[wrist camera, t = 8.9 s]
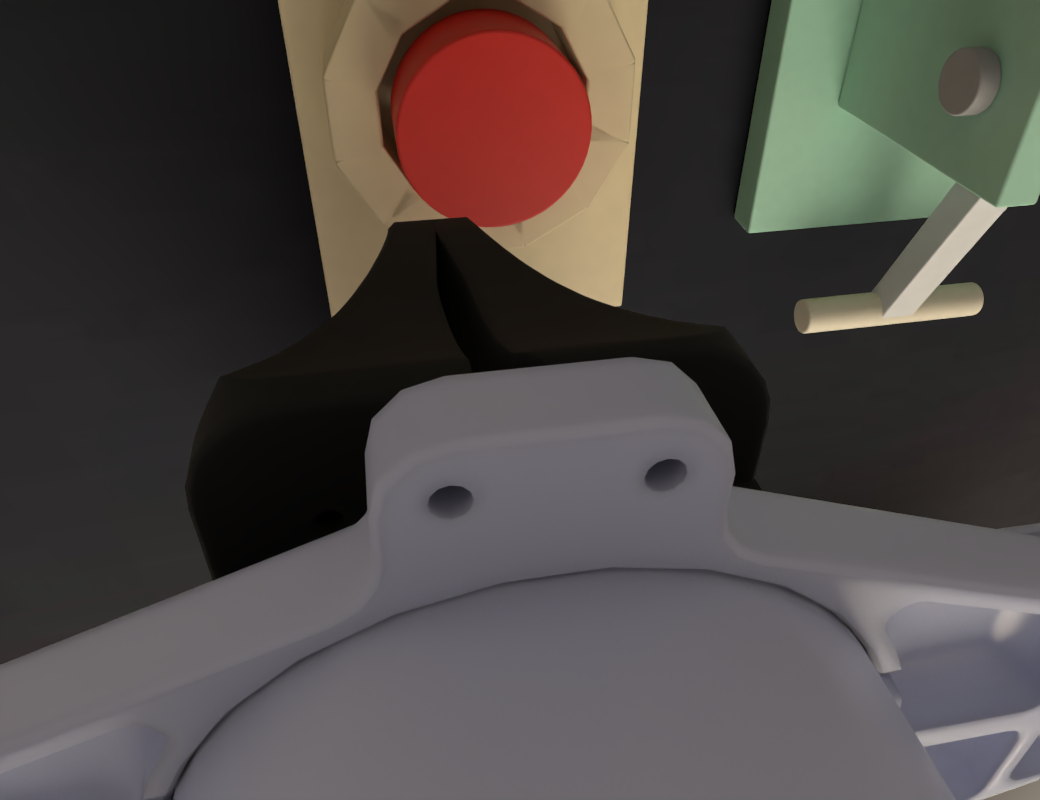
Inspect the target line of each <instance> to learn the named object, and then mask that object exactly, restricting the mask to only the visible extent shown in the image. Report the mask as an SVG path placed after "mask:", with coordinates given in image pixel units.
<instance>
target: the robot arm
mask: <svg viewBox="0 0 1040 800" xmlns="http://www.w3.org/2000/svg"><path fill="white" fill-rule="evenodd" d="M769 407H770V398H769V394H768V390H767V386H766V383H765V380H764V379H763V377H762V376H761V374H760V373H759V372H758V370H757V369H756V368H755V366H754V364H753V363H752V361H751V360H750V358H749V357H748V355H747V354H746V353H745V351H744V350H743V348H742V347H741V346H740V345H739V343H738V342H737V341H736V340H735V338H734V337H733V336H732V335H731V334H730V333H729V332H728V330H727V329H726V328H725V327H720V326H712V325H703V324H694V323H686V322H677V321H671V320H666V319H661V318H656V317H652V316H647V315H642V314H638V313H635V312H631V311H627V310H623V309H620V308H617V307H614V306H611V305H608V304H605V303H602V302H599V301H597V300H594V299H591V298H589V297H586V296H584V295H582V294H579V293H577V292H575V291H573V290H571V289H569V288H567V287H565V286H563V285H561V284H559V283H557V282H555V281H553V280H551V279H549V278H548V277H546V276H544V275H543V274H541V273H540V272H538V271H536V270H535V269H533V268H532V267H530V266H528V265H527V264H525V263H524V262H523V261H521V260H520V259H518V258H517V257H515V256H514V255H513V254H511V253H510V252H509V251H507V250H506V249H505V248H504V247H502V246H501V245H500V244H499V243H497V242H496V241H495V240H494V239H492V238H491V237H490V236H489V235H488V234H486V233H485V232H484V231H483V230H482V229H481V228H479V227H478V226H477V225H476V224H475V223H474V222H472V221H471V220H470V219H469V218H468V217H459V218H445V219H431V220H418V221H404V222H394V223H393V224H392V225H391V226H390V227H389V229H388V233H387V237H386V240H385V242H384V244H383V247H382V249H381V251H380V253H379V255H378V257H377V258H376V260H375V262H374V264H373V266H372V267H371V269H370V271H369V272H368V274H367V276H366V277H365V278H364V280H363V281H362V283H361V284H360V285H359V287H358V288H357V290H356V291H355V292H354V294H353V295H352V296H351V298H350V299H349V300H348V301H347V302H346V303H345V305H344V306H343V307H342V308H341V309H340V310H339V311H338V312H337V313H336V314H335V315H334V316H333V317H332V318H330V319H329V320H328V321H326V322H325V323H324V324H323V325H321V326H320V327H319V328H317V329H316V330H315V331H313V332H312V333H311V334H309V335H308V336H307V337H305V338H304V339H302V340H301V341H299V342H297V343H296V344H294V345H292V346H291V347H289V348H287V349H285V350H283V351H281V352H280V353H278V354H276V355H274V356H272V357H270V358H268V359H266V360H263V361H261V362H259V363H256V364H253V365H251V366H248V367H246V368H243V369H241V370H238V371H235V372H233V373H230V374H227V375H224V376H221V377H220V378H219V380H218V381H217V384H216V386H215V388H214V390H213V392H212V395H211V397H210V399H209V402H208V404H207V406H206V408H205V411H204V413H203V416H202V418H201V420H200V423H199V426H198V429H197V432H196V435H195V439H194V443H193V448H192V453H191V458H190V463H189V469H188V474H187V479H186V484H185V490H186V496H187V503H188V510H189V513H190V516H191V518H192V521H193V524H194V527H195V530H196V533H197V536H198V539H199V542H200V544H201V547H202V550H203V553H204V556H205V559H206V562H207V565H208V568H209V570H210V573H211V576H212V579H213V581H211V582H208V583H205V584H203V585H200V586H198V587H195V588H193V589H190V590H188V591H185V592H183V593H180V594H178V595H175V596H173V597H170V598H168V599H165V600H163V601H160V602H158V603H155V604H153V605H150V606H148V607H145V608H142V609H140V610H137V611H135V612H132V613H130V614H127V615H125V616H122V617H120V618H117V619H115V620H112V621H110V622H107V623H105V624H102V625H100V626H97V627H95V628H92V629H90V630H87V631H85V632H82V633H79V634H77V635H74V636H72V637H69V638H67V639H64V640H62V641H59V642H57V643H54V644H52V645H49V646H47V647H44V648H42V649H39V650H37V651H34V652H32V653H29V654H27V655H24V656H22V657H19V658H17V659H14V660H11V661H9V662H6V663H4V664H1V665H0V800H982V799H985V798H988V797H991V796H994V795H996V794H1000V793H1002V792H1005V791H1008V790H1011V789H1014V788H1017V787H1020V786H1022V785H1025V784H1028V783H1031V782H1034V781H1037V780H1040V523H1036V524H1029V525H1022V526H1015V527H1008V528H1001V529H992V528H986V527H979V526H973V525H967V524H961V523H955V522H949V521H943V520H937V519H930V518H924V517H918V516H912V515H906V514H900V513H894V512H888V511H881V510H875V509H869V508H863V507H857V506H851V505H845V504H839V503H832V502H826V501H820V500H814V499H808V498H802V497H796V496H790V495H783V494H777V493H771V492H765V491H762V490H761V488H760V486H759V485H758V483H757V481H756V480H755V478H754V477H755V473H756V469H757V465H758V460H759V456H760V452H761V448H762V444H763V440H764V436H765V432H766V428H767V424H768V418H769Z"/></svg>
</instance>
